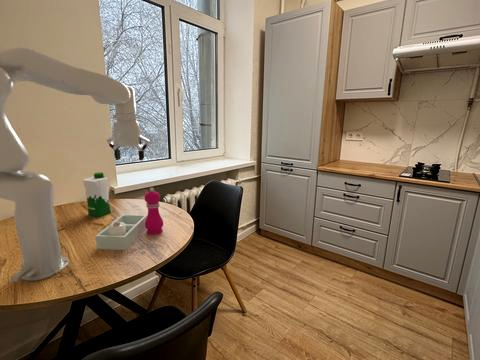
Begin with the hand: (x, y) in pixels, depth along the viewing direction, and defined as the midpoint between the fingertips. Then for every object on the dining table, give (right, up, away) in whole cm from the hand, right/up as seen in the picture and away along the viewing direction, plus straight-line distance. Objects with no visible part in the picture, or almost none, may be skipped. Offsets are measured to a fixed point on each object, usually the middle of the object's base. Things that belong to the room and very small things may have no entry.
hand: (129, 159), depth 109 cm
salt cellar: (0, -32, -11) cm, 34 cm away
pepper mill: (+11, -31, -1) cm, 33 cm away
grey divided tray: (+1, -32, -6) cm, 32 cm away
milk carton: (-23, -25, +18) cm, 39 cm away
